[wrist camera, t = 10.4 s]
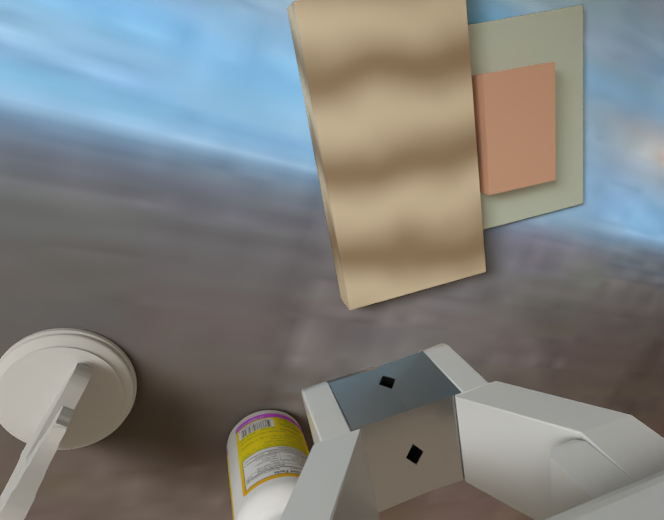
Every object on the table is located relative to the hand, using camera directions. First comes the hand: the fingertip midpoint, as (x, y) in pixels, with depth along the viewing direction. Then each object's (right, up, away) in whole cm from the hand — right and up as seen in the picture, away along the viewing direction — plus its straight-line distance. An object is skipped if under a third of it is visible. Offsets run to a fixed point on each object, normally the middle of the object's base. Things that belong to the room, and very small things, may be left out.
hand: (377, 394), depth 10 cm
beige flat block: (+4, +11, +28) cm, 31 cm away
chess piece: (-21, -7, +27) cm, 35 cm away
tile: (+13, +13, +30) cm, 35 cm away
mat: (+15, +14, +30) cm, 37 cm away
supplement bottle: (-7, -13, +33) cm, 36 cm away
